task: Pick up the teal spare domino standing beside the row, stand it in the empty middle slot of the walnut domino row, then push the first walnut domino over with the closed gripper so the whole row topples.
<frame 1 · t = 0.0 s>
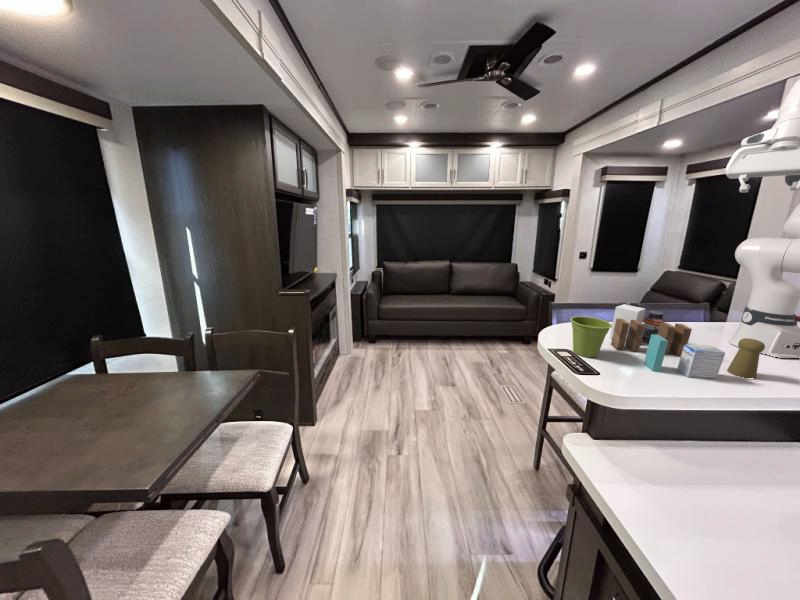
hand: (767, 191, 84), 52 cm above the table, tool tilted 20°, fingers open, 8 cm apart
spare domino: (651, 367, 97), on the table
domino 1: (675, 353, 108), on the table
domino 5: (616, 347, 111), on the table
medicine box: (695, 375, 93), on the table
domino 2: (660, 352, 108), on the table
cork: (740, 374, 95), on the table
plant pot: (584, 353, 106), on the table
supplement box: (623, 340, 119), on the table
supplement bottle: (649, 341, 118), on the table
domino 4: (631, 349, 110), on the table
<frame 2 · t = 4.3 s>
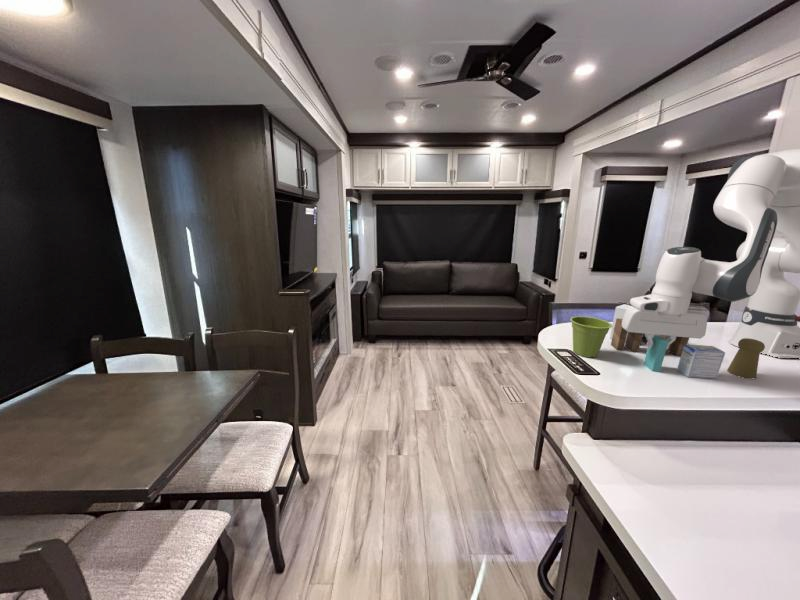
hand: (656, 347, 95), 7 cm above the table, tool pointing down, fingers closed on spare domino, 2 cm apart
spare domino: (651, 367, 97), on the table, touching gripper
everything else where it was.
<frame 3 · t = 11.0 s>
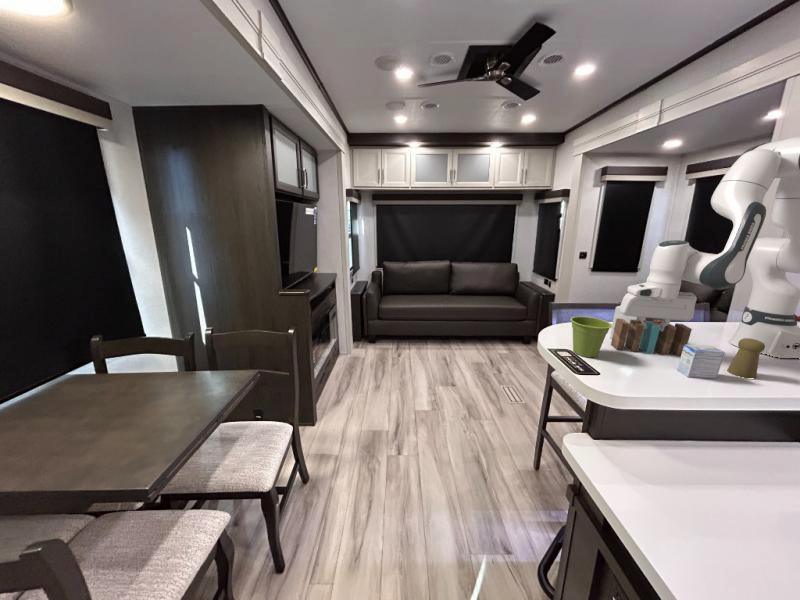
hand: (651, 330, 107), 8 cm above the table, tool pointing down, fingers open, 4 cm apart
spare domino: (645, 350, 109), on the table
domino 4: (631, 349, 110), on the table, touching gripper
everything else where it was.
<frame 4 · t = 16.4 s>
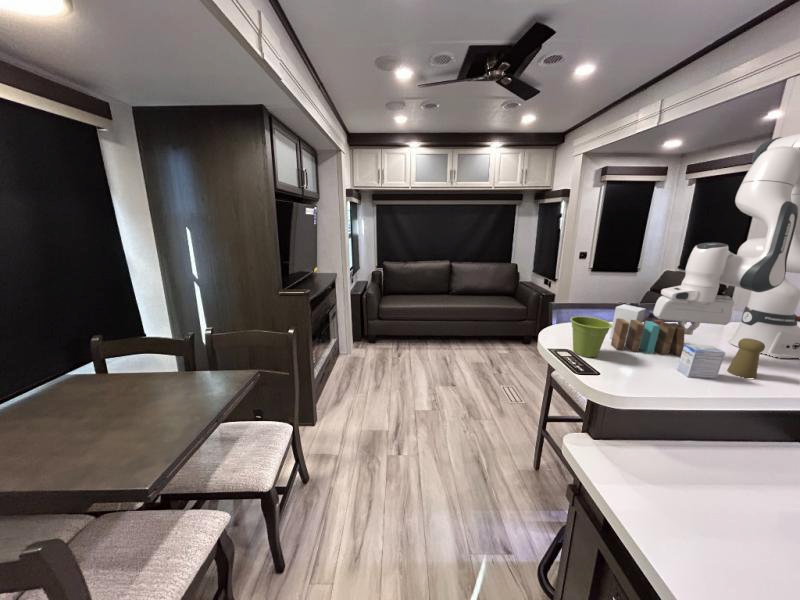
hand: (685, 333, 105), 7 cm above the table, tool pointing down, fingers closed
domino 1: (675, 353, 107), on the table, tilted 12°
domino 4: (631, 349, 110), on the table
everything else where it was.
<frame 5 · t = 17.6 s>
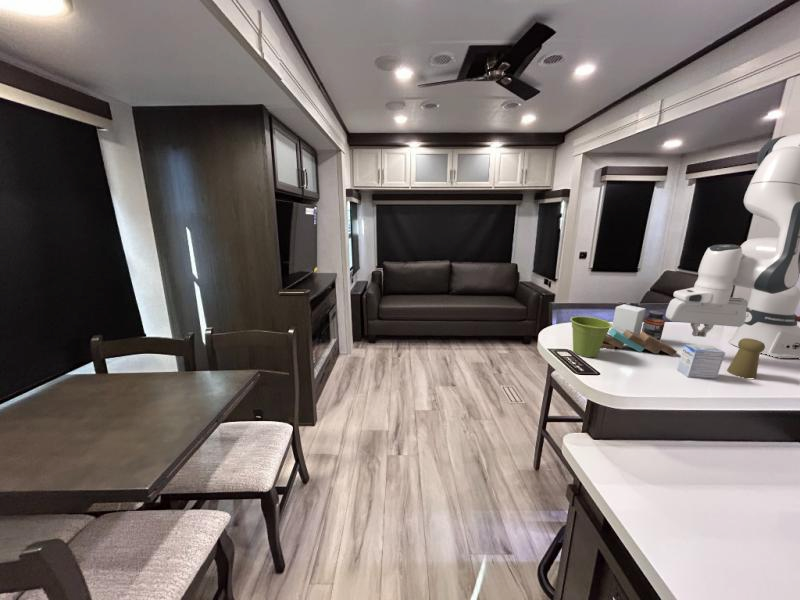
hand: (698, 336, 105), 7 cm above the table, tool pointing down, fingers closed
spare domino: (639, 347, 110), point 1 cm above the table, tilted 65°, touching domino 2
domino 1: (671, 350, 107), point 1 cm above the table, tilted 65°, touching domino 2
domino 5: (611, 346, 112), on the table, tilted 90°, touching domino 4
domino 2: (655, 349, 108), point 1 cm above the table, tilted 65°, touching domino 1, spare domino
domino 4: (620, 343, 111), point 1 cm above the table, tilted 72°, touching domino 5
everything else where it was.
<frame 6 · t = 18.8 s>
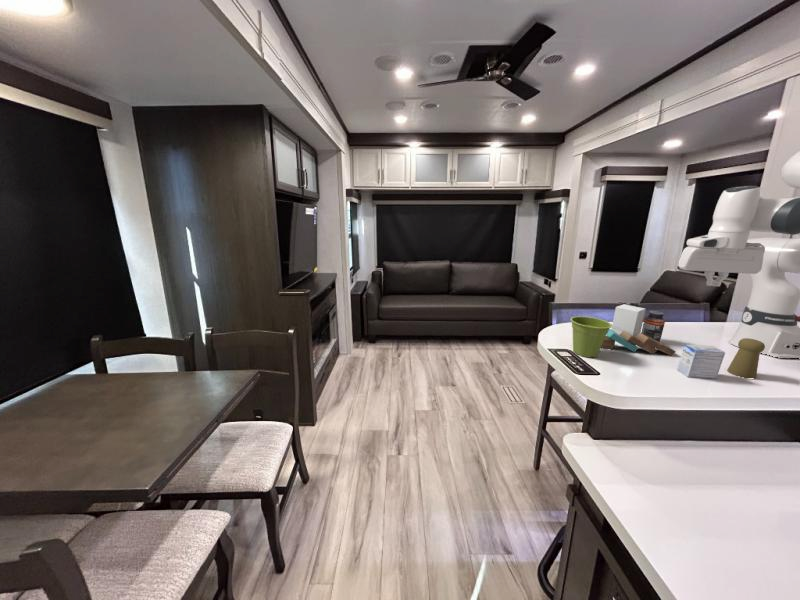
hand: (712, 285, 100), 24 cm above the table, tool pointing down, fingers closed
spare domino: (632, 346, 110), point 1 cm above the table, tilted 62°, touching domino 2
domino 5: (608, 346, 112), on the table, tilted 90°, touching domino 4
domino 2: (650, 348, 108), point 1 cm above the table, tilted 64°, touching domino 1, spare domino
domino 4: (612, 341, 111), point 2 cm above the table, tilted 90°, touching domino 5
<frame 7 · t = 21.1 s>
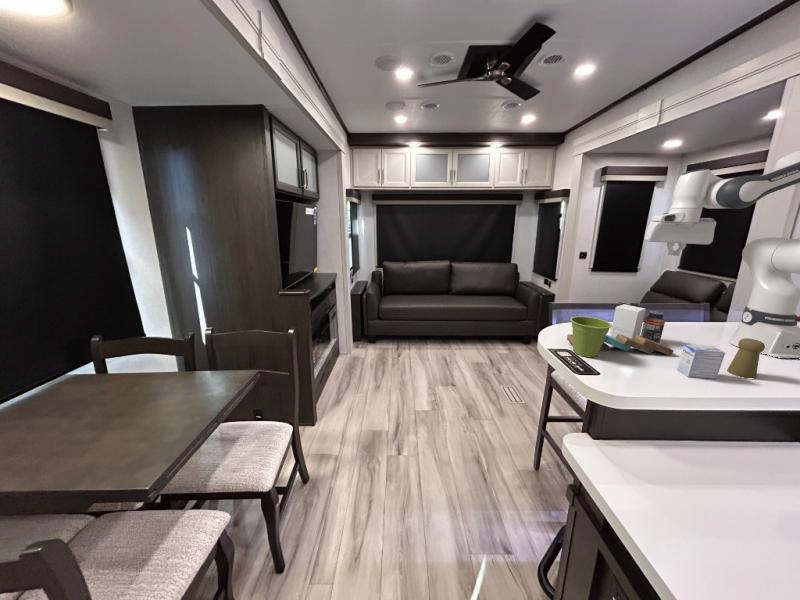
hand: (673, 255, 118), 31 cm above the table, tool pointing down, fingers closed
spare domino: (623, 345, 110), point 1 cm above the table, tilted 69°, touching domino 4
domino 5: (605, 346, 111), on the table, tilted 90°, touching domino 4
domino 2: (647, 348, 109), point 1 cm above the table, tilted 71°, touching domino 1
domino 4: (599, 341, 111), point 2 cm above the table, tilted 90°, touching domino 5, spare domino
at the end: domino 5 tilted 90°; spare domino tilted 68°; spare domino inside the target area (0.4 cm from its centre), point 1.1 cm above the table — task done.
